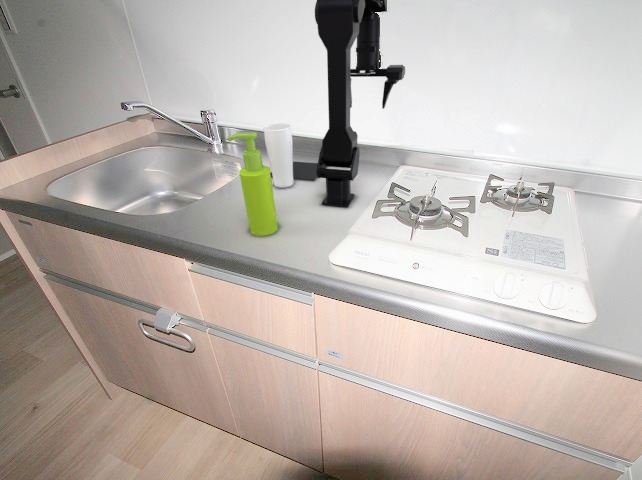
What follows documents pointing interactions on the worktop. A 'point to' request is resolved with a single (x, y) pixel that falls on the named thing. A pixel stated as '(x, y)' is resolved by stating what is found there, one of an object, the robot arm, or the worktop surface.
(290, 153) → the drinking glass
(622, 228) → the worktop surface
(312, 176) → the drying mat
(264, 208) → the soap dispenser
